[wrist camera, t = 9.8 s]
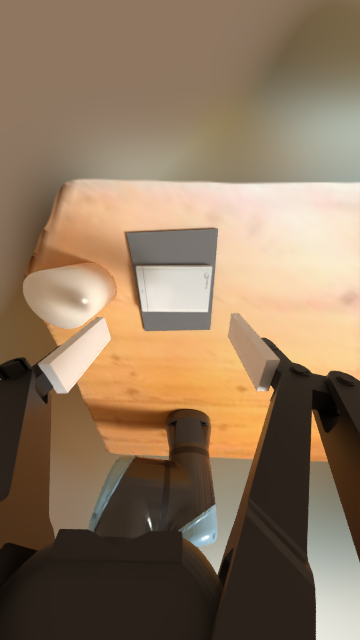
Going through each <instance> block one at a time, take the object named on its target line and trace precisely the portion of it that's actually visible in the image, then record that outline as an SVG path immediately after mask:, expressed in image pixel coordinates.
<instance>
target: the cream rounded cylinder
mask: <svg viewBox="0 0 360 640" xmlns="http://www.w3.org/2000/svg"><path fill="white" fill-rule="evenodd" d="M23 293H24V297H25V299H26V301H27V303H28V305H29V306H30V308H31V309H32V310H33V311H34V312H35V313H36V314H37V315H38V316H39V317H40V318H42V319H43V320H44V321H46V322H48V323H50V324H52V325H54V326H57V327H60V328H66V329H71V328H77V327H79V326H81V325H83V324H84V323H85V322H86V321H88V320H89V319H90V318H91V317H93V316H94V315H95V314H96V313H98V312H99V311H100V310H102V309H103V308H104V307H105V306H107V305H108V304H109V303H110V302H112V301H113V300H114V298H115V296H116V293H117V286H116V282H115V280H114V278H113V276H112V275H111V274H110V273H109V271H108V270H106V269H105V268H104V267H102V266H101V265H98V264H96V263H91V262H86V263H80V264H74V265H69V266H63V267H58V268H52V269H46V270H41V271H36V272H33V273H31V274H29V275H28V276H27V277H26V278H25V280H24V283H23Z"/></svg>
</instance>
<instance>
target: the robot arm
mask: <svg viewBox="0 0 360 640" xmlns="http://www.w3.org/2000/svg"><path fill="white" fill-rule="evenodd" d="M228 337H229V339H230V341H231V343H232V345H233V347H234V349H235V351H236V353H237V354H238V356H239V358H240V360H241V362H242V364H243V366H244V368H245V370H246V371H247V373H248V375H249V377H250V379H251V381H252V383H253V385H254V387H255V389H256V390H257V391H269V388H270V385H271V386H272V387H273V389H274V392H273V395H272V397H271V400H270V401H271V402H270V405H269V409H268V412H267V415H266V419H265V422H264V425H263V429H262V432H261V435H260V439H259V442H258V445H257V449H256V452H255V455H254V459H253V462H252V465H251V469H250V472H249V476H248V479H247V483H246V486H245V489H244V492H243V496H242V499H241V502H240V506H239V509H238V512H237V516H236V519H235V522H234V525H233V528H232V530H231V533H230V536H229V539H228V542H227V546H226V549H225V553H224V555H223V559H222V562H221V565H220V569H219V572H218V575H217V574H216V572H215V570H214V569H213V567H212V565H211V564H210V562H209V561H208V560H207V558H206V557H205V556H204V554H203V553H202V552H201V551H200V550H199V549H198V547H202V546H206V545H210V544H212V543H214V542H215V540H216V538H217V533H218V528H217V517H216V504H215V497H214V490H213V481H212V475H211V466H210V459H209V442H210V434H211V424H210V419H209V417H208V416H207V415H206V414H204V413H202V412H200V411H196V410H180V411H176V412H174V413H172V414H170V415H169V416H168V417H167V420H166V433H167V438H168V444H169V460H161V459H152V458H144V457H137V456H136V455H135V456H122V457H120V458H118V459H117V460H116V461H115V463H114V465H113V466H112V468H111V470H110V472H109V474H108V476H107V478H106V480H105V482H104V485H103V487H102V489H101V492H100V494H99V497H98V500H97V502H96V505H95V508H94V512H93V514H92V517H91V520H90V523H89V527H88V530H83V529H82V530H81V529H60V530H59V532H58V534H57V537H56V539H55V536H54V531H53V527H52V525H51V522H50V518H49V481H50V479H49V478H50V434H51V394H50V392H49V391H50V390H51V389H52V388H54V389H55V391H56V392H57V393H68V392H69V391H70V389H71V388H72V387H73V386H74V385H75V383H76V382H77V381H78V380H79V378H80V377H81V376H82V375H83V373H84V372H85V371H86V370H87V368H88V367H89V366H90V365H91V363H92V362H93V361H94V360H95V358H96V357H97V356H98V355H99V353H100V352H101V351H102V350H103V348H104V347H105V346H106V345H107V343H108V342H109V341H110V340H111V338H110V334H109V331H108V328H107V325H106V322H105V318H104V317H96V318H95V319H94V320H93V321H91V322H90V323H89V324H88V325H86V326H85V327H84V328H83V329H81V330H80V331H79V332H77V333H76V334H75V335H74V336H72V337H71V338H70V339H69V340H67V341H66V342H65V343H64V344H62V345H60V346H58V347H57V348H56V349H54V350H53V351H52V352H51V353H49V354H48V355H47V356H45V357H44V358H43V359H41V360H40V361H39V362H38V363H37V364H35V365H34V366H33V367H31V365H30V364H29V362H28V361H27V360H26V358H23V357H22V358H16V359H13V360H10V361H7V362H5V363H3V364H1V365H0V378H1V379H2V380H0V640H316V599H315V584H314V578H313V573H312V570H311V568H310V565H309V562H308V557H307V531H308V503H309V473H310V447H311V418H312V411H313V414H314V417H315V420H316V424H317V427H318V430H319V433H320V436H321V440H322V443H323V446H324V449H325V452H326V456H327V459H328V462H329V465H330V468H331V472H332V474H333V478H334V481H335V484H336V487H337V491H338V494H339V497H340V500H341V504H342V507H343V510H344V513H345V516H346V519H347V522H348V526H349V529H350V532H351V535H352V538H353V542H354V545H355V548H356V551H357V555H358V558H359V561H360V381H359V380H357V379H356V378H354V377H353V376H351V375H349V374H346V373H343V372H340V371H330V372H329V373H328V375H327V376H322V375H317V374H313V373H311V372H310V371H309V370H308V369H307V368H305V367H304V366H302V365H300V364H296V363H292V362H291V361H290V360H289V359H288V358H287V357H286V356H285V355H284V354H283V353H282V352H281V351H280V350H279V349H278V348H277V347H276V345H275V344H274V343H273V342H272V341H270V340H268V339H267V338H260V337H259V335H258V334H257V333H256V332H255V331H254V330H253V329H252V328H251V326H250V325H249V324H248V323H247V322H246V321H245V320H244V319H243V317H242V316H241V315H240V314H239V313H235V314H231V319H230V326H229V333H228Z"/></svg>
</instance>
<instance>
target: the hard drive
mask: <svg viewBox="0 0 360 640" xmlns="http://www.w3.org/2000/svg"><path fill="white" fill-rule="evenodd" d="M136 273H137V280H138V286H139V293H140V300H141V306H142V311H143V312H208V306H209V296H210V286H211V276H212V266H211V265H159V266H136Z"/></svg>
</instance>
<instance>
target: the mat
mask: <svg viewBox="0 0 360 640" xmlns="http://www.w3.org/2000/svg"><path fill="white" fill-rule="evenodd" d="M217 236H218V229H201V230H179V231H157V232H136V233H127V238H128V243H129V248H130V254H131V259H132V264H133V270H134V275H135V281H136V286H137V291H138V297H139V302H140V307H141V313H142V318H143V323H144V329H145V331H169V330H210V325H211V312H212V299H213V287H214V274H215V261H216V249H217ZM159 265H211V266H212V276H211V286H210V296H209V306H208V312H143V311H142V306H141V300H140V293H139V286H138V280H137V273H136V266H159Z"/></svg>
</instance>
